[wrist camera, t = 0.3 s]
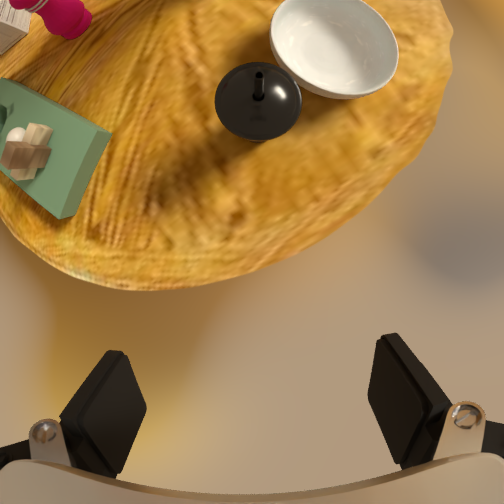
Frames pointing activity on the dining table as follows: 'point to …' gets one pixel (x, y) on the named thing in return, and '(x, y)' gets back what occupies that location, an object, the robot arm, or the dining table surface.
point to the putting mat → (53, 147)
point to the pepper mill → (58, 15)
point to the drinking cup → (258, 101)
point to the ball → (16, 134)
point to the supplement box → (12, 25)
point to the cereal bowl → (334, 46)
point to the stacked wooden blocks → (27, 152)
